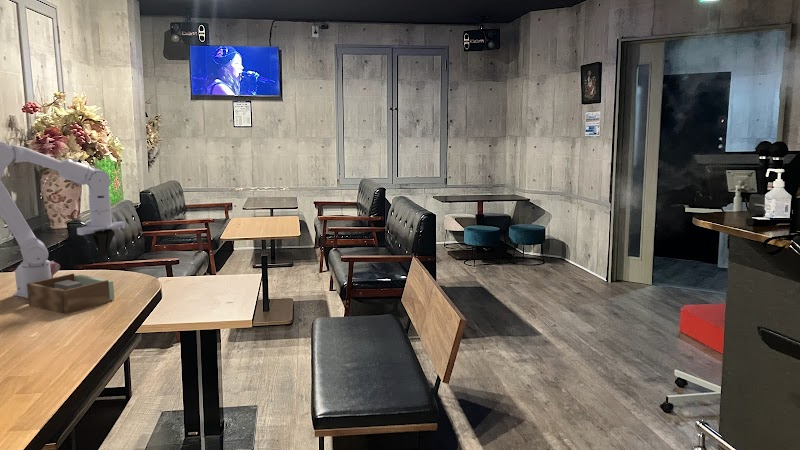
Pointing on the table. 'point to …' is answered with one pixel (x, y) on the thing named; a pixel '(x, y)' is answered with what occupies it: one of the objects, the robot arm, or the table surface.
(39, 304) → the dock housing
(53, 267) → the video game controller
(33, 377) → the table surface
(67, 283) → the grey upright block
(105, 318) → the table surface
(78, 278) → the tray
